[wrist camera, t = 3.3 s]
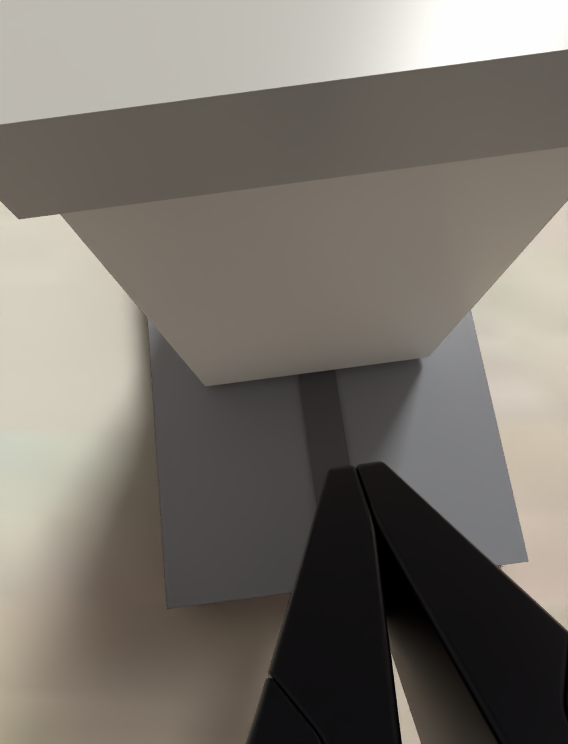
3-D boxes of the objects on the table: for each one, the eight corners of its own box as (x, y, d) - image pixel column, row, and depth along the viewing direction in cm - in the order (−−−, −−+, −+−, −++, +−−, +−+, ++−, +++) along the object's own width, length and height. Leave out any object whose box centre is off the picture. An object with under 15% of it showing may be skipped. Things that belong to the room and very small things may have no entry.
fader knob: (438, 367, 14) (793, 19, 4) (198, 398, 14) (-69, 132, 4) (406, 213, 15) (616, -366, 5) (185, 241, 15) (-49, -277, 5)
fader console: (505, 555, 14) (530, 562, 13) (180, 597, 14) (165, 609, 13) (380, -13, 19) (387, -59, 18) (138, 19, 19) (124, -24, 18)
